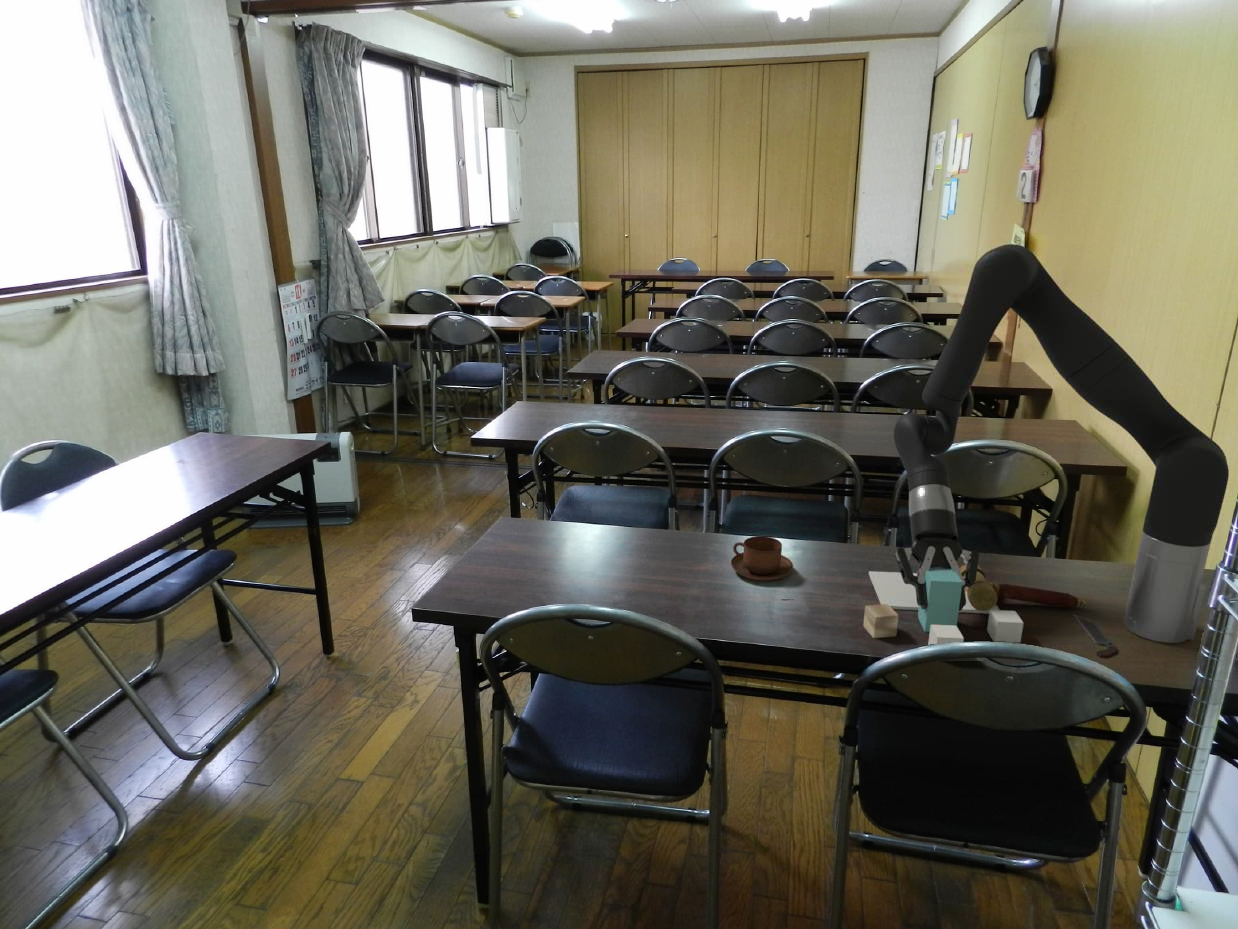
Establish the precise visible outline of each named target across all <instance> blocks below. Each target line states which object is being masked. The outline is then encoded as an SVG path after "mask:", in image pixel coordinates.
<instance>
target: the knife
mask: <svg viewBox="0 0 1238 929" xmlns="http://www.w3.org/2000/svg"><path fill="white" fill-rule="evenodd" d="M1072 616H1073V617H1074V619H1075V620H1076V621H1077V622H1078V624H1079V625H1080V626H1081V627H1082V628H1083V630H1084V631H1085V633H1086V634H1087V635H1088V637H1089V638H1090V639H1091V641H1093V643H1094V644H1096V645H1097V646H1098V645H1099V646H1105V647H1107V649H1101V650H1096V653H1095V655H1096V657H1098V658H1103V659H1108V658H1111V657H1113V656H1115V655H1117V653H1118V648H1117V646H1116V645H1115V643H1113V642H1112V641H1111V640H1110V639H1109V638H1108V637H1107V636H1106V633H1104V632H1103V630H1102V629H1101V628H1100V627H1099V626H1098V624H1097V623H1096V622H1095V621H1092V620H1090V619H1087V618H1085V617H1082V616H1080V615H1077V614H1072Z"/></svg>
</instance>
